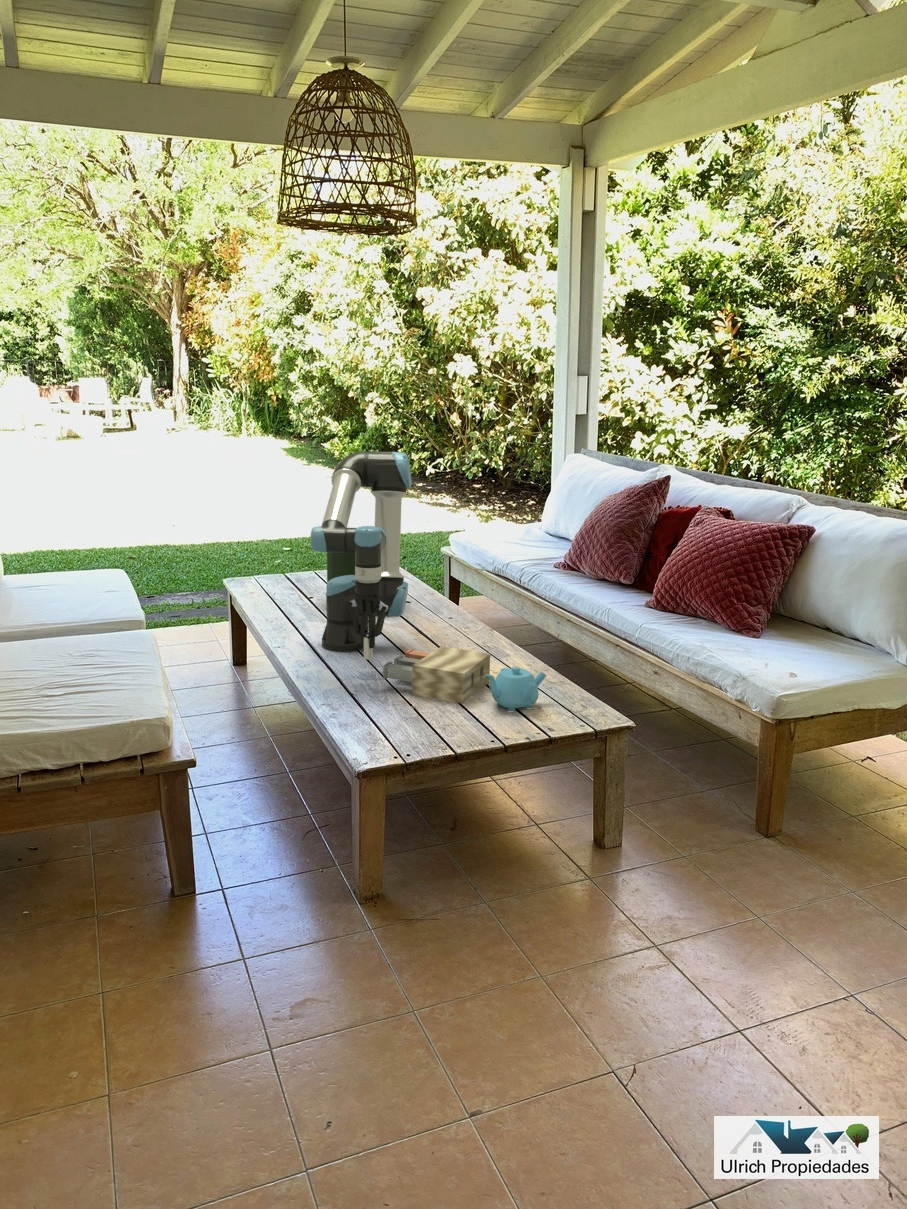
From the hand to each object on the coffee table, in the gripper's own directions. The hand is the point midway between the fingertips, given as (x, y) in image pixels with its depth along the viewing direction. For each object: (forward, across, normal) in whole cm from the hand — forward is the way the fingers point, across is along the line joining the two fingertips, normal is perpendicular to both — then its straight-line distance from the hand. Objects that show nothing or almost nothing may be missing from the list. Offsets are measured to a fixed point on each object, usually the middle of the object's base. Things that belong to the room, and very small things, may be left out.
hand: (368, 657), depth 283 cm
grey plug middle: (+5, +14, +7) cm, 17 cm away
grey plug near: (+5, +14, 0) cm, 15 cm away
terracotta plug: (+5, +14, +14) cm, 21 cm away
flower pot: (+7, -43, +73) cm, 85 cm away
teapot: (+9, +46, +2) cm, 47 cm away
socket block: (+8, +24, +8) cm, 26 cm away
